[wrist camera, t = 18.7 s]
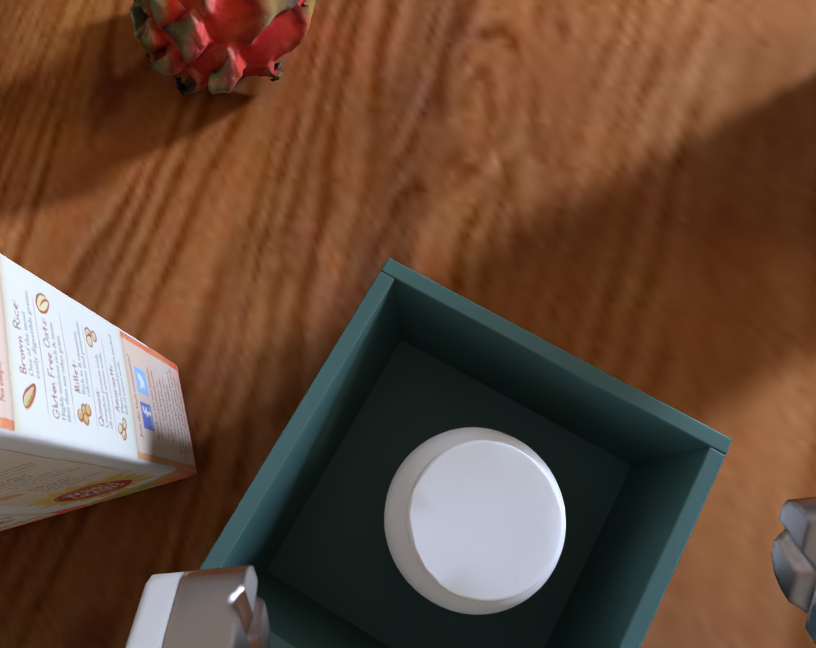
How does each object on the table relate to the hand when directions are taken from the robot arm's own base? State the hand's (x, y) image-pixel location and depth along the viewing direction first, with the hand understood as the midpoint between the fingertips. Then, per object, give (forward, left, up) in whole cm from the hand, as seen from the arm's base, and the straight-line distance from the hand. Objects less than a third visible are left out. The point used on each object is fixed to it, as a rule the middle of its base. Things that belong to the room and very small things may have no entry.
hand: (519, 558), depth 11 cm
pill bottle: (-1, 0, -21) cm, 21 cm away
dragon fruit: (-17, -22, -22) cm, 36 cm away
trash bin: (0, 0, -22) cm, 22 cm away
